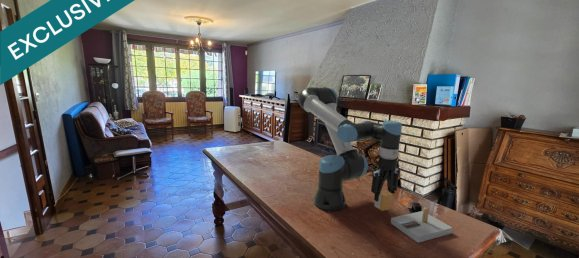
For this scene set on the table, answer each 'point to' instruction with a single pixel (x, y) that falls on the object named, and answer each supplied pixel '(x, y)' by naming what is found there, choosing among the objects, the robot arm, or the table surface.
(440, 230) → the junction plate
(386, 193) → the cardboard-colored cube
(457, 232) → the table surface
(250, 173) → the table surface
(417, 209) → the black power adapter
